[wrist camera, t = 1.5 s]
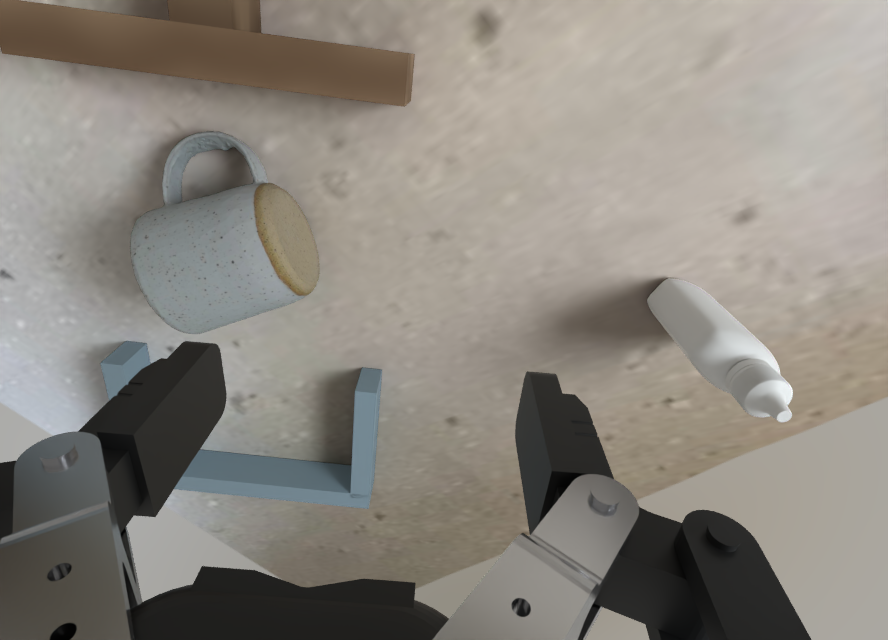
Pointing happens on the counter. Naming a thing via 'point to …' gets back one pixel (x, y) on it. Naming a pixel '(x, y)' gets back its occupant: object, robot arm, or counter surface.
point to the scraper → (206, 48)
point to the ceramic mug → (222, 246)
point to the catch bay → (270, 472)
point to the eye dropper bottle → (722, 348)
